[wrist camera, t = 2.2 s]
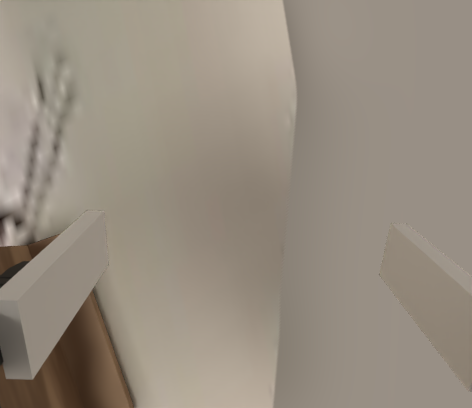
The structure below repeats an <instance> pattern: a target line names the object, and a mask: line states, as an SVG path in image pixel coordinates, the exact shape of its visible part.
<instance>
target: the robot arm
mask: <svg viewBox="0 0 472 408" xmlns="http://www.w3.org/2000/svg"><path fill="white" fill-rule="evenodd" d="M108 265H109V261H108V249H107V237H106V226H105V214H104V211H95V210H87V211H86V212H84V213H83V214H82V215H81V216H80V217H79V218H78V219H77V220H76V221H74V222H73V223H72V224H71V225H70V226H69V227H68V228H67V229H66V230H64V231H63V232H62V233H61V234H60V235H59V236H58V237H57V238H56V239H54V240H53V241H52V242H51V243H50V244H49V245H48V246H47V247H46V248H45V249H43V250H42V251H41V252H40V253H39V254H38V255H37V256H36V257H35V258H33V259H32V260H31V261H22V262H20V263H18V264H16V265H14V266H12V267H10V268H8V269H7V270H6V271H5V272H4V273H3V274H1V275H0V366H1V365H2V363H3V368H4V372H5V376H6V379H26V380H33V378H34V377H35V375H36V374H37V372H38V371H39V369H40V368H41V366H42V365H43V363H44V362H45V360H46V359H47V357H48V356H49V354H50V353H51V351H52V350H53V348H54V347H55V345H56V344H57V342H58V341H59V339H60V338H61V336H62V335H63V333H64V332H65V330H66V329H67V327H68V326H69V324H70V323H71V321H72V320H73V318H74V317H75V315H76V313H77V312H78V310H79V309H80V307H81V306H82V304H83V303H84V301H85V300H86V298H87V297H88V295H89V294H90V292H91V291H92V289H93V288H94V286H95V285H96V283H97V282H98V280H99V279H100V277H101V276H102V274H103V273H104V271H105V270H106V268H107V267H108ZM379 275H380V277H381V278H382V279H383V281H384V282H385V283H386V285H387V286H388V287H389V288H390V290H391V291H392V292H393V294H394V295H395V296H396V298H397V299H398V300H399V301H400V303H401V304H402V305H403V307H404V308H405V309H406V311H407V312H408V313H409V315H410V316H411V317H412V318H413V320H414V321H415V322H416V324H417V325H418V326H419V328H420V329H421V330H422V332H423V333H424V334H425V335H426V337H427V338H428V339H429V341H430V342H431V343H432V345H433V346H434V347H435V349H436V350H437V351H438V352H439V354H440V355H441V356H442V358H443V359H444V360H445V362H446V363H447V364H448V365H449V367H450V368H451V369H452V371H453V372H454V373H455V375H456V376H457V377H458V378H459V380H460V381H461V382H462V384H463V385H464V386H465V388H466V389H467V390H468V391H472V276H471V275H469V274H468V273H467V272H466V271H464V270H463V269H462V268H461V267H459V266H458V265H457V264H456V263H455V262H453V261H452V260H451V259H450V258H448V257H447V256H446V255H445V254H443V253H442V252H441V251H440V250H438V249H437V248H436V247H435V246H434V245H432V244H431V243H430V242H429V241H427V240H426V239H425V238H424V237H422V236H421V235H420V234H419V233H418V232H416V231H415V230H414V229H413V228H411V227H410V226H409V225H408V224H397V223H391V224H390V229H389V233H388V238H387V242H386V247H385V251H384V256H383V260H382V265H381V269H380V273H379ZM0 408H1V405H0Z"/></svg>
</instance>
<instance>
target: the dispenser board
mask: <svg viewBox="0 0 472 408" xmlns="http://www.w3.org/2000/svg"><path fill="white" fill-rule="evenodd" d="M59 235H60V234H58V235H55V236H53V237H50V238H47V239H44V240H41V241H38V242H35V243H33V244H30V245H25V246H8V247H0V275H1V274H3V273H4V272H5V271H6V270H7V269H8V268H10V267H12V266H14V265H16V264H18V263H20V262H22V261H31V260H32V259H33V258H35V257H36V256H37V255H38V254H39V253H40V252H41V251H42V250H43V249H45V248H46V247H47V246H48V245H49V244H50V243H51V242H52V241H53V240H54V239H56V238H57V237H58V236H59ZM0 405H1V408H134V406H133V403H132V400H131V397H130V394H129V392H128V389H127V386H126V383H125V380H124V378H123V375H122V372H121V369H120V366H119V364H118V361H117V358H116V355H115V352H114V350H113V347H112V344H111V341H110V338H109V336H108V333H107V330H106V327H105V324H104V322H103V319H102V316H101V313H100V310H99V308H98V305H97V302H96V299H95V296H94V294H93V291H91V292H90V294H89V295H88V297H87V298H86V300H85V301H84V303H83V304H82V306H81V307H80V309H79V310H78V312H77V313H76V315H75V317H74V318H73V320H72V321H71V323H70V324H69V326H68V327H67V329H66V330H65V332H64V333H63V335H62V336H61V338H60V339H59V341H58V342H57V344H56V345H55V347H54V348H53V350H52V351H51V353H50V354H49V356H48V357H47V359H46V360H45V362H44V363H43V365H42V366H41V368H40V369H39V371H38V372H37V374H36V375H35V377H34V378H33V380H26V379H6V376H5V372H4V368H3V363H2V365H1V366H0Z"/></svg>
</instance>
